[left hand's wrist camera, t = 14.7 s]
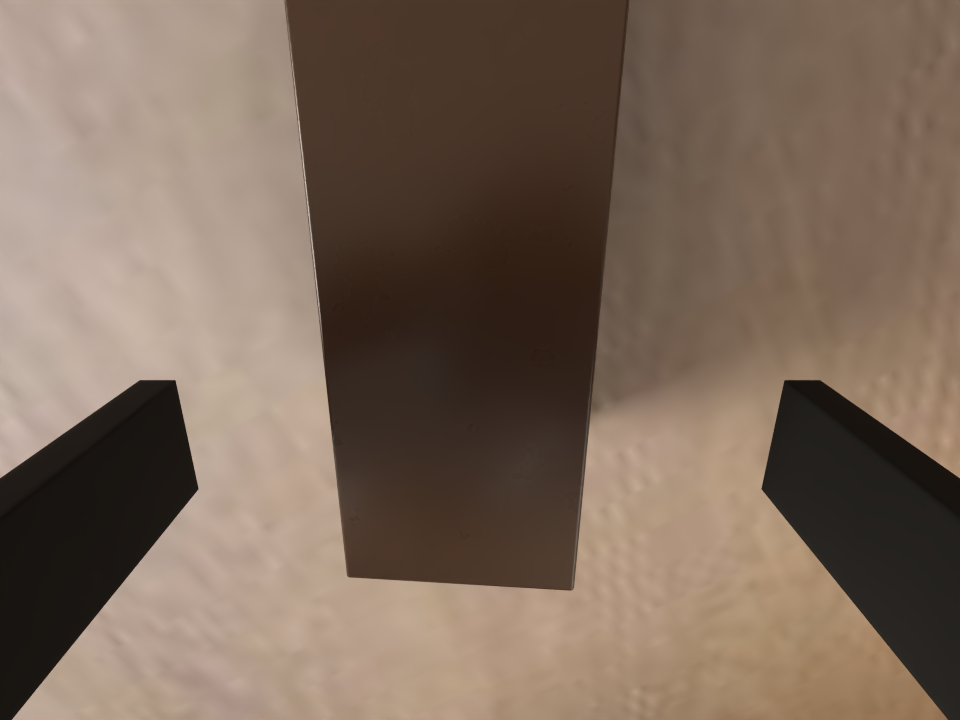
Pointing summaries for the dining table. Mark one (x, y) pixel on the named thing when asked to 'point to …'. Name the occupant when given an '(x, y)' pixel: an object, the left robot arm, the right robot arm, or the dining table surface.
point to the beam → (459, 271)
